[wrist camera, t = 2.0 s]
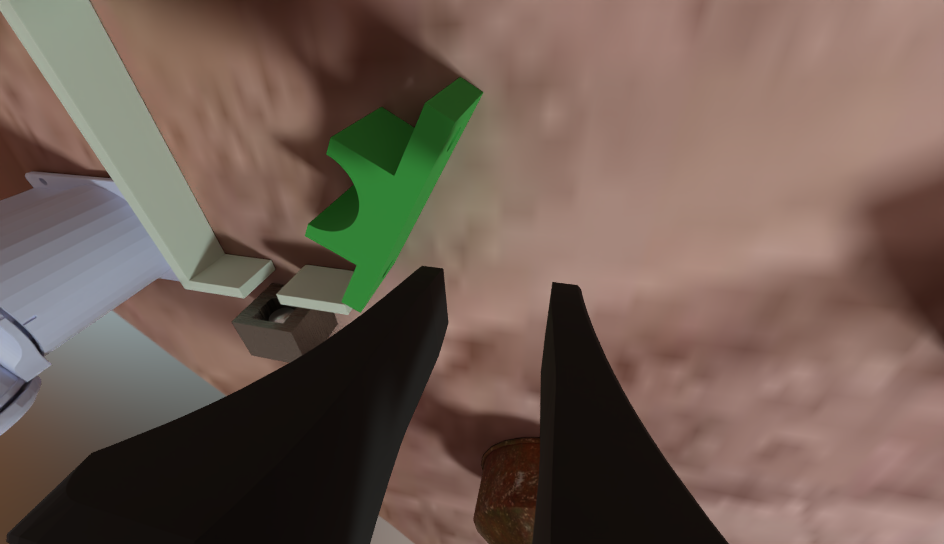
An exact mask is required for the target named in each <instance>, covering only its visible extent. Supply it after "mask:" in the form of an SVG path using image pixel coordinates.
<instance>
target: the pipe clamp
mask: <svg viewBox="0 0 944 544" xmlns="http://www.w3.org/2000/svg"><path fill="white" fill-rule="evenodd" d="M482 94H483V92H482V91H481V90H479V89H478V88H476V87H475V86H473V85H472V84H470V83H469V82H467V81H466V80H464V79H463V78H461V77H459V78H458V79H457V80H455V81H454V82H453V83H451V84H450V85H449V86H447V87H446V88H445V89H443V90H442V91H441V92H439V93H438V94H436V95H435V96H434V97H432V98H431V99H430V100H428V101H427V102H426V103H425V104H424V107H423V109H422V112H421V114H420V116H419V119H418V121H417V123H416V126H415V128H414V127H412V126H411V125H409V124H408V123H406V122H405V121H403V120H401V119H400V118H398V117H397V116H395V115H394V114H392V113H390V112H389V111H387V110H386V109H384V108H383V107H380V108H379V109H377V110H375V111H374V112H372V113H370V114H369V115H367V116H365V117H364V118H362V119H360V120H359V121H357V122H355V123H354V124H352V125H350V126H349V127H347V128H345V129H344V130H342V131H340V132H339V133H337V134H335V135H334V136H332V137H331V138H330V142H329V146H328V150H327V153H326V154H327V155H328V156H330V157H331V158H332V159H334V160H335V161H336V162H337V163H338V164H339V165H340V166H341V167H342V168H343V169H344V170H345V171H346V172H347V174H348V175H349V177H350V178H351V180H352V182H353V183H354V185H353V186H352V187H351V188H349V189H348V190H347V191H346V192H345V193H344V194H342V195H341V196H340V197H339V198H338V199H337V200H335V201H334V202H333V203H332V204H331V205H330V206H329V207H327V208H326V209H325V210H324V211H323V212H322V213H320V214H319V215H318V216H317V217H316V218H315V219H314V220H312V221H311V222H310V223H309V224H308V226H307V230H306V234H305V236H306V237H308V238H309V239H311V240H313V241H315V242H317V243H318V244H320V245H322V246H324V247H325V248H327V249H329V250H331V251H332V252H334V253H336V254H338V255H340V256H341V257H343V258H345V259H347V260H348V261H350V262H352V263H354V264H355V265H357V266H356V268H355V270H354V273H353V275H352V277H351V280H350V282H349V285H348V287H347V289H346V292H345V294H344V296H343V299H342V301H341V302H342V303H344V304H346V305H347V306H349V307H351V308H353V309H355V310H357V311H358V312H360V313H361V311H362V310H363V309H364V307H365V306H366V304H367V303H368V301H369V300H370V298H371V297H372V295H373V294H374V292H375V291H376V289H377V288H378V287H379V285H380V284H381V282H382V281H383V279H384V278H385V276H386V275H387V273H388V272H389V270H390V269H391V267H392V266H393V265H394V263H395V261H396V259H397V257H398V255H399V253H400V251H401V249H402V248H403V246H404V244H405V242H406V240H407V238H408V236H409V234H410V232H411V230H412V228H413V226H414V225H415V223H416V221H417V219H418V217H419V215H420V213H421V211H422V209H423V207H424V205H425V203H426V201H427V200H428V198H429V196H430V194H431V192H432V190H433V188H434V186H435V184H436V182H437V180H438V178H439V177H440V175H441V173H442V171H443V169H444V167H445V165H446V163H447V161H448V159H449V157H450V155H451V154H452V152H453V150H454V148H455V146H456V144H457V142H458V140H459V138H460V136H461V134H462V132H463V131H464V129H465V127H466V125H467V123H468V121H469V119H470V117H471V115H472V113H473V111H474V109H475V108H476V106H477V104H478V102H479V100H480V98H481V96H482Z"/></svg>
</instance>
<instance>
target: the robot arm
mask: <svg viewBox="0 0 944 544" xmlns="http://www.w3.org/2000/svg"><path fill="white" fill-rule="evenodd" d="M25 177H26V179H27V180H28V182H29V183H30V184H31V185H32V187H33V189H30V190H27V191H25V192H22V193H19V194H17V195H14V196H11V197H9V198H6V199H3V200H0V435H2V434H3V433H4V432H5V431H7V430H8V429H9V428H10V427H11V426H12V425H14V424H15V423H16V422H17V421H18V420H19V419H20V418H21V417H22V416H23V415H24V414H25V413H26V412H27V411H28V409H29V408H30V407H31V406H32V404H33V403H34V401H35V399H36V396H37V393H38V391H39V389H40V386H41V379H40V377H39V376H37V375H38V374H40V373H41V372H42V371H44V370H45V369H46V368H48V367H49V366H51V363H50V362H49V361H48V360H46V359H45V358H44V356H46V355H47V354H49V353H50V352H52V351H53V350H55V349H56V348H57V347H59V346H60V345H62V344H63V343H65V342H66V341H68V340H69V339H70V338H72V337H73V336H75V335H76V334H78V333H79V332H81V331H82V330H84V329H85V328H87V327H88V326H89V325H91V324H92V323H94V322H95V321H97V320H98V319H100V318H101V317H102V316H104V315H105V314H107V313H108V312H110V311H111V310H113V309H114V308H116V307H117V306H118V305H120V304H121V303H123V302H124V301H126V300H127V299H129V298H130V297H131V296H133V295H134V294H136V293H137V292H139V291H140V290H142V289H143V288H145V287H146V286H147V285H149V284H150V283H152V282H153V281H155V280H156V279H158V278H161V279H168V280H174V281H179V279H178V278H177V276H176V275H175V273H174V272H173V270H172V269H171V267H170V266H169V264H168V263H167V261H166V260H165V258H164V256H163V255H162V253H161V252H160V250H159V249H158V247H157V246H156V244H155V243H154V241H153V240H152V238H151V237H150V235H149V234H148V232H147V231H146V229H145V228H144V226H143V225H142V223H141V222H140V220H139V219H138V217H137V216H136V214H135V213H134V211H133V210H132V208H131V207H130V205H129V204H128V202H127V201H126V199H125V198H124V196H123V195H122V193H121V192H120V190H119V189H118V187H117V186H116V184H115V183H114V181H113V180H112V178H102V177H91V176H79V175H68V174H57V173H46V172H34V171H32V172H28V173H26V174H25ZM447 326H448V313H447V303H446V292H445V282H444V271H443V268H435V267H427V266H421V267H420V268H419V269H417V270H416V271H415V272H414V273H413V274H411V275H410V276H409V277H408V278H406V279H405V280H404V281H403V282H402V283H400V284H399V285H398V286H397V287H396V288H394V289H393V290H392V291H391V292H390V293H388V294H387V295H386V296H385V297H383V298H382V299H381V300H380V301H378V302H377V303H376V304H375V305H373V306H372V307H371V308H370V309H368V310H367V311H366V312H365V313H363V314H362V315H361V316H359V317H358V318H356V319H355V320H354V321H352V322H351V323H350V324H348V325H347V326H345V327H344V328H343V329H341V330H340V331H339V332H337V333H336V334H334V335H333V336H332V337H330V338H329V339H327V340H326V341H324V342H323V343H321V344H320V345H318V346H316V347H315V348H313V349H312V350H310V351H308V352H307V353H305V354H304V355H302V356H300V357H299V358H297V359H295V360H294V361H292V362H290V363H289V364H287V365H285V366H283V367H282V368H280V369H278V370H276V371H274V372H272V373H270V374H268V375H267V376H265V377H263V378H261V379H259V380H257V381H255V382H254V383H252V384H250V385H248V386H246V387H244V388H242V389H240V390H238V391H236V392H234V393H232V394H230V395H228V396H226V397H224V398H222V399H220V400H218V401H216V402H214V403H212V404H209V405H207V406H205V407H203V408H201V409H198V410H196V411H194V412H192V413H189V414H187V415H185V416H183V417H181V418H178V419H176V420H173V421H171V422H169V423H166V424H164V425H161V426H159V427H156V428H154V429H151V430H149V431H147V432H144V433H142V434H139V435H137V436H134V437H131V438H129V439H127V440H124V441H121V442H119V443H116V444H114V445H111V446H109V447H106V448H104V449H101V450H98V451H96V452H93V453H91V455H89V456H88V457H87V458H86V459H85V460H84V461H83V462H82V463H81V464H80V465H79V466H78V467H77V468H76V469H75V470H73V471H72V472H71V473H70V474H69V475H68V476H67V477H66V478H65V479H64V480H63V481H62V482H61V483H60V484H59V485H58V486H57V487H56V488H55V489H54V490H53V491H52V492H50V494H48V495H47V496H46V497H45V498H44V499H43V500H42V501H41V502H40V503H39V504H38V505H37V506H36V507H35V508H34V509H33V510H32V511H31V512H30V513H29V514H27V516H25V517H24V518H23V519H22V520H21V521H20V522H19V523H18V524H17V525H16V526H15V527H14V528H13V529H12V530H11V531H10V532H9V533H8V534H7V542H8V543H9V544H370V542H371V538H372V535H373V531H374V528H375V524H376V521H377V518H378V514H379V511H380V508H381V505H382V502H383V498H384V495H385V492H386V489H387V485H388V482H389V479H390V476H391V473H392V470H393V467H394V464H395V461H396V458H397V455H398V451H399V448H400V445H401V443H402V440H403V437H404V435H405V432H406V430H407V427H408V425H409V423H410V420H411V418H412V416H413V414H414V411H415V409H416V407H417V404H418V402H419V400H420V398H421V395H422V393H423V391H424V388H425V386H426V384H427V382H428V379H429V377H430V375H431V372H432V370H433V368H434V365H435V363H436V361H437V358H438V356H439V353H440V350H441V346H442V343H443V340H444V336H445V333H446V329H447ZM532 544H729V543H728V542H727V541H726V540H725V538H724V537H723V536H722V535H721V533H720V532H719V531H718V529H717V528H716V527H715V526H714V524H713V523H712V522H711V521H710V519H709V518H708V517H707V515H706V514H705V512H704V511H703V510H702V508H701V507H700V506H699V504H698V503H697V502H696V500H695V499H694V497H693V496H692V495H691V493H690V492H689V491H688V489H687V488H686V486H685V485H684V484H683V482H682V481H681V480H680V478H679V477H678V476H677V474H676V473H675V471H674V470H673V469H672V467H671V466H670V465H669V463H668V462H667V460H666V459H665V457H664V456H663V454H662V453H661V451H660V450H659V448H658V447H657V445H656V444H655V442H654V441H653V439H652V438H651V436H650V435H649V433H648V431H647V430H646V428H645V427H644V425H643V423H642V422H641V420H640V419H639V417H638V415H637V414H636V412H635V410H634V409H633V407H632V405H631V404H630V402H629V400H628V398H627V396H626V395H625V393H624V391H623V389H622V387H621V385H620V384H619V382H618V380H617V378H616V376H615V374H614V372H613V370H612V368H611V366H610V364H609V362H608V360H607V358H606V356H605V354H604V351H603V349H602V347H601V345H600V342H599V340H598V338H597V336H596V333H595V331H594V328H593V326H592V323H591V321H590V318H589V315H588V312H587V309H586V306H585V303H584V300H583V296H582V291H581V289H580V288H579V286H578V285H572V284H564V283H556V282H552V289H551V297H550V304H549V311H548V318H547V326H546V333H545V341H544V350H543V358H542V367H541V401H540V464H539V480H538V490H537V500H536V510H535V521H534V531H533V541H532Z"/></svg>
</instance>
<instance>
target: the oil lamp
mask: <svg viewBox="0 0 944 544" xmlns="http://www.w3.org/2000/svg"><path fill="white" fill-rule="evenodd" d="M539 464H540V438H518V439H512V440H507V441H503V442H501V443H499V444H496V445H494V446H492V447H491V448H490V449H489V450H488V451H487V452H486V453H485V454H484V456H483V459H482V463H481V466H482V469H483V474H482V479H481V484H480V489H479V493H478V498H477V503H476V508H475V513H474V523H475V526H476V529H477V531H478V532H479V534H480V535H481V536H482V537H483V538H484V539H485V540H486V541H487V542H488V544H532V541H533V531H534V521H535V510H536V500H537V490H538V480H539Z"/></svg>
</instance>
